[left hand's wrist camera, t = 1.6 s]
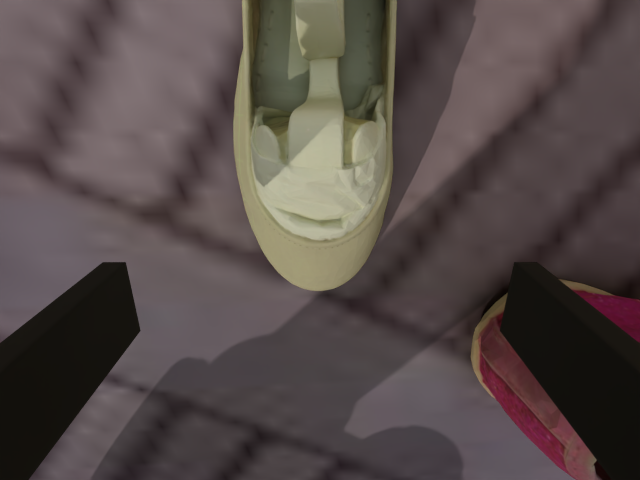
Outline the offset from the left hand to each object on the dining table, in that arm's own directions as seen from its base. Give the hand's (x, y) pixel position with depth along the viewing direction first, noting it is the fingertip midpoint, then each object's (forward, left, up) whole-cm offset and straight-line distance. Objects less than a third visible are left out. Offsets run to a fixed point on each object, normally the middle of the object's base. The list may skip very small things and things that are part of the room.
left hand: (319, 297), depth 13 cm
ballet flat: (+7, +2, -10) cm, 13 cm away
